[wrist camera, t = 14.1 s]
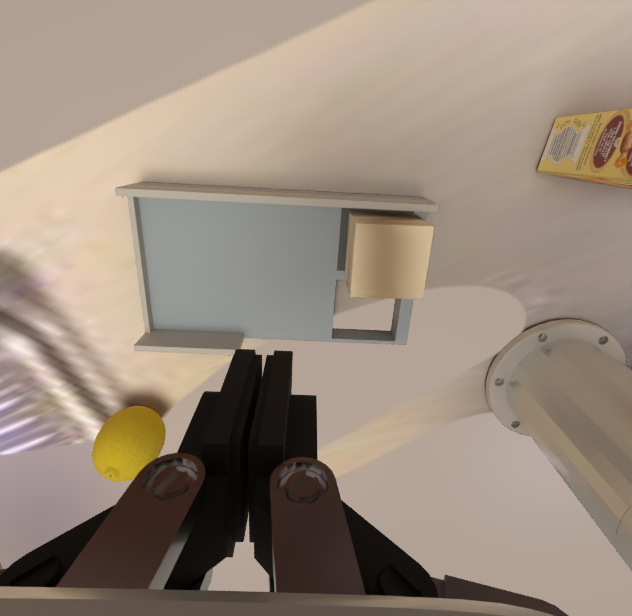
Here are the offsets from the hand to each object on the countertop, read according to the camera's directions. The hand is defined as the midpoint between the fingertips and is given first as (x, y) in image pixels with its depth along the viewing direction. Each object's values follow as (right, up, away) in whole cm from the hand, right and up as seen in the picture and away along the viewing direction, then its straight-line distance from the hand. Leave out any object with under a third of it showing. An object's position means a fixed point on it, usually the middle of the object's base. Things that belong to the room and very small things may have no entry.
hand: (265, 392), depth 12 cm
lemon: (-15, -8, +27) cm, 32 cm away
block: (+6, +7, +19) cm, 21 cm away
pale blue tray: (-1, +6, +21) cm, 22 cm away
